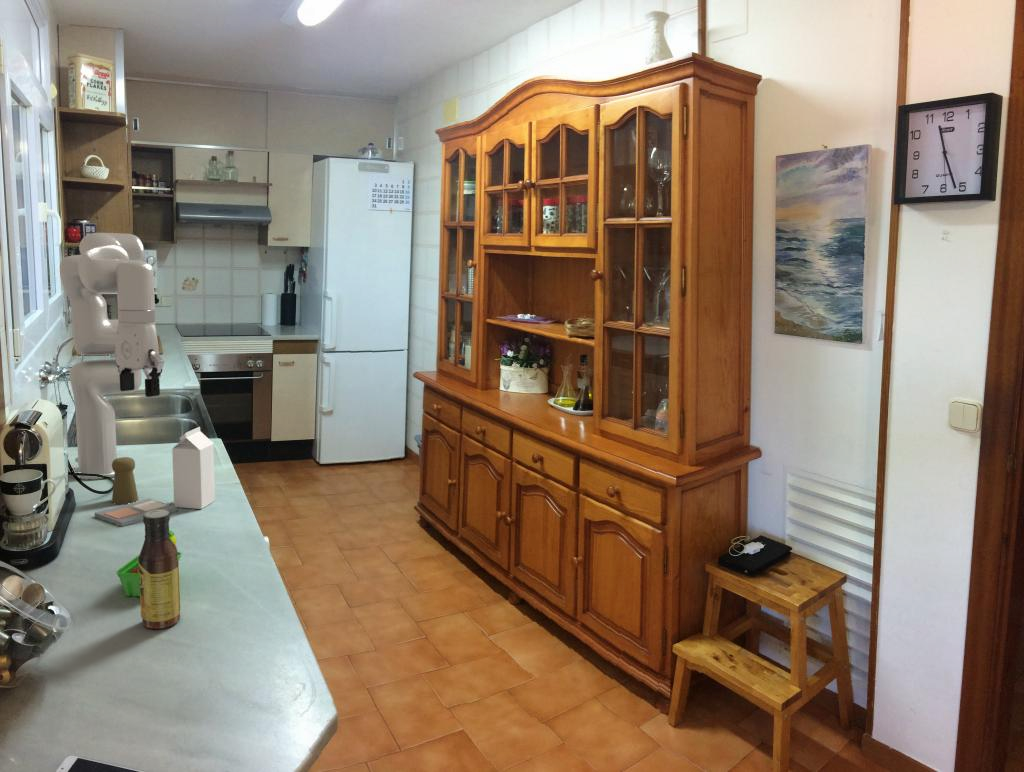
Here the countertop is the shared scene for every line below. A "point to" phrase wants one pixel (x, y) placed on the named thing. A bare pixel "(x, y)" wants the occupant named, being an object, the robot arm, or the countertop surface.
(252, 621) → the countertop surface
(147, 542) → the sauce bottle
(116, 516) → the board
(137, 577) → the fruit basket
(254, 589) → the countertop surface
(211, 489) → the milk carton
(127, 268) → the robot arm
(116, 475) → the cork
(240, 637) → the countertop surface
